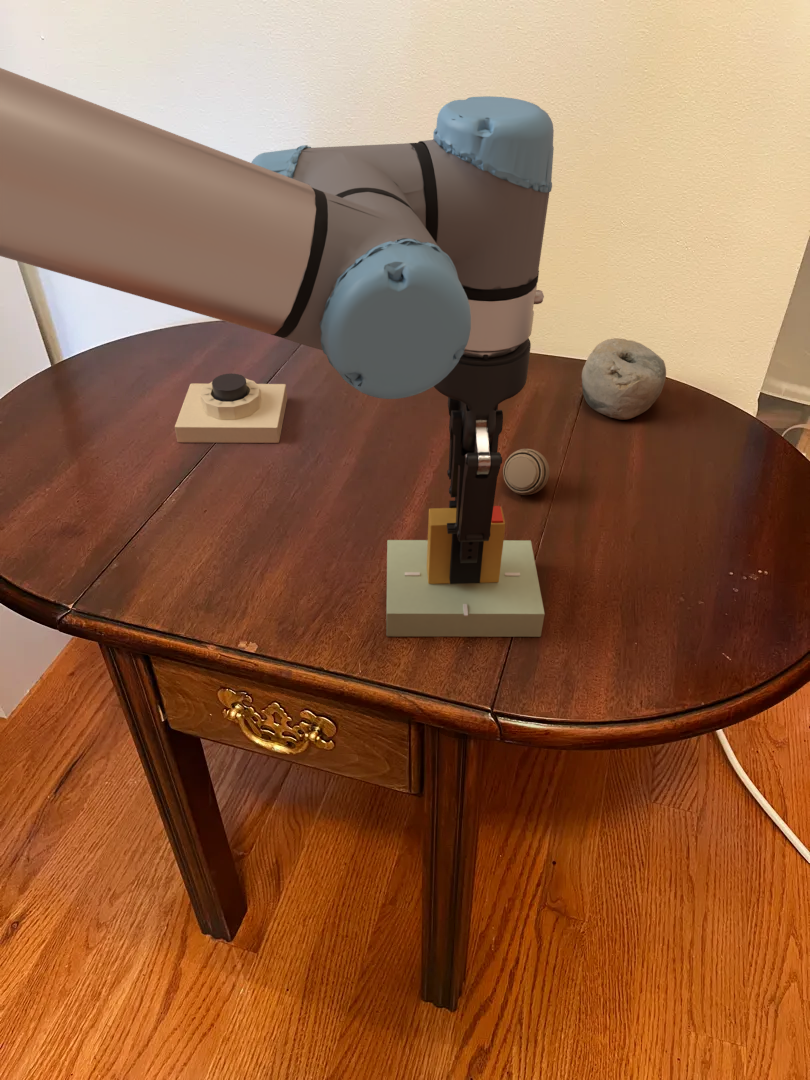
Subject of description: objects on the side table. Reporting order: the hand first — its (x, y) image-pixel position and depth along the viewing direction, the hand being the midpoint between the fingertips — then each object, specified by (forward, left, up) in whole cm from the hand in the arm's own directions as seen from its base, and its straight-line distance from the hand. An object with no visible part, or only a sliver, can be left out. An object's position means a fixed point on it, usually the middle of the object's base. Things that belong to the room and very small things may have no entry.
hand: (462, 568), depth 77 cm
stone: (+22, +35, -4) cm, 42 cm away
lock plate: (0, 0, -4) cm, 4 cm away
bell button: (-26, +31, 0) cm, 41 cm away
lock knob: (0, 0, -1) cm, 1 cm away
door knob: (+8, +17, -4) cm, 19 cm away
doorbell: (-26, +31, -4) cm, 41 cm away
